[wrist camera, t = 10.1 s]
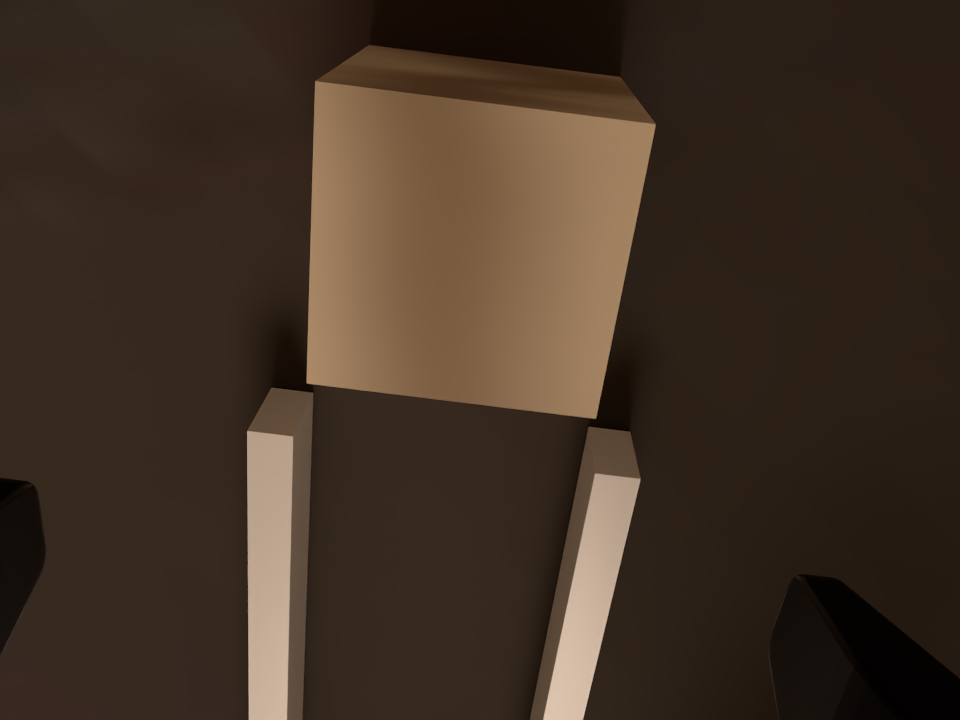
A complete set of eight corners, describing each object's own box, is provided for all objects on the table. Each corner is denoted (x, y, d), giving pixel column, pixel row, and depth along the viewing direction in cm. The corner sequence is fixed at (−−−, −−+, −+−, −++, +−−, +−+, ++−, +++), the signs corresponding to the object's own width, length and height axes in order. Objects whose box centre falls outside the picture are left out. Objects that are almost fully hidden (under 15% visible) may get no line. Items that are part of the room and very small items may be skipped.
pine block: (619, 76, 17) (655, 124, 12) (578, 307, 19) (595, 418, 15) (369, 44, 17) (315, 80, 12) (357, 279, 19) (306, 383, 15)
